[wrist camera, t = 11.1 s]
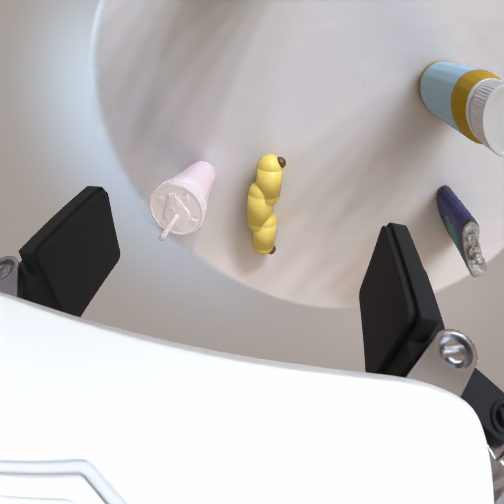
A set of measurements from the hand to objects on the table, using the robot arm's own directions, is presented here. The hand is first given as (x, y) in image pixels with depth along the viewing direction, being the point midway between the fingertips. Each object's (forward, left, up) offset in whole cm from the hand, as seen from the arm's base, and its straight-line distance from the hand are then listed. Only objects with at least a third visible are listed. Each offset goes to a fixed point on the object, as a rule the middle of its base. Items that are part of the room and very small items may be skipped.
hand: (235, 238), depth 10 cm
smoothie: (+11, -10, -28) cm, 32 cm away
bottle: (-5, +18, -28) cm, 34 cm away
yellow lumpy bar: (+14, -2, -28) cm, 32 cm away
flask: (+11, +24, -28) cm, 39 cm away
